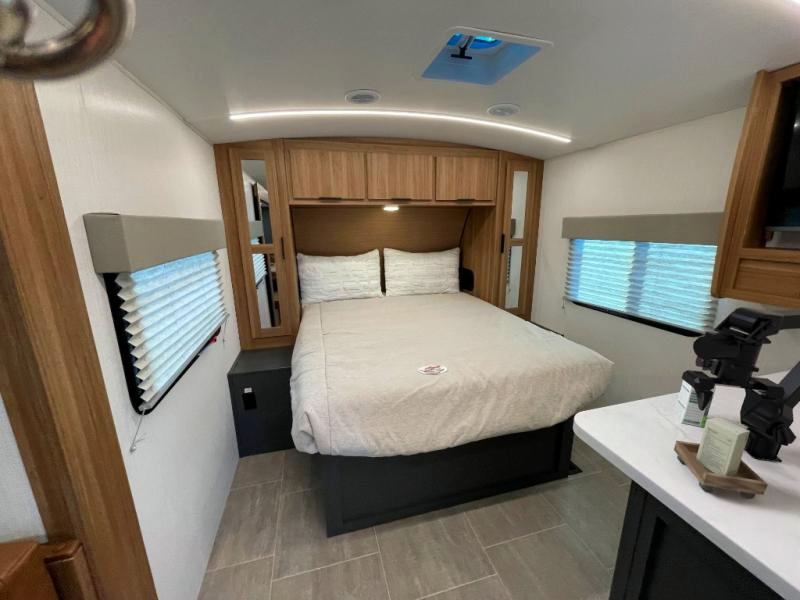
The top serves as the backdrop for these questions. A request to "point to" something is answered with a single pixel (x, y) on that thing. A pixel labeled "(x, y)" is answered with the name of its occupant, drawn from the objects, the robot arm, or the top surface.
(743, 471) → the shallow wooden tray
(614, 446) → the top surface
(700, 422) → the syrup box
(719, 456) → the skincare box
